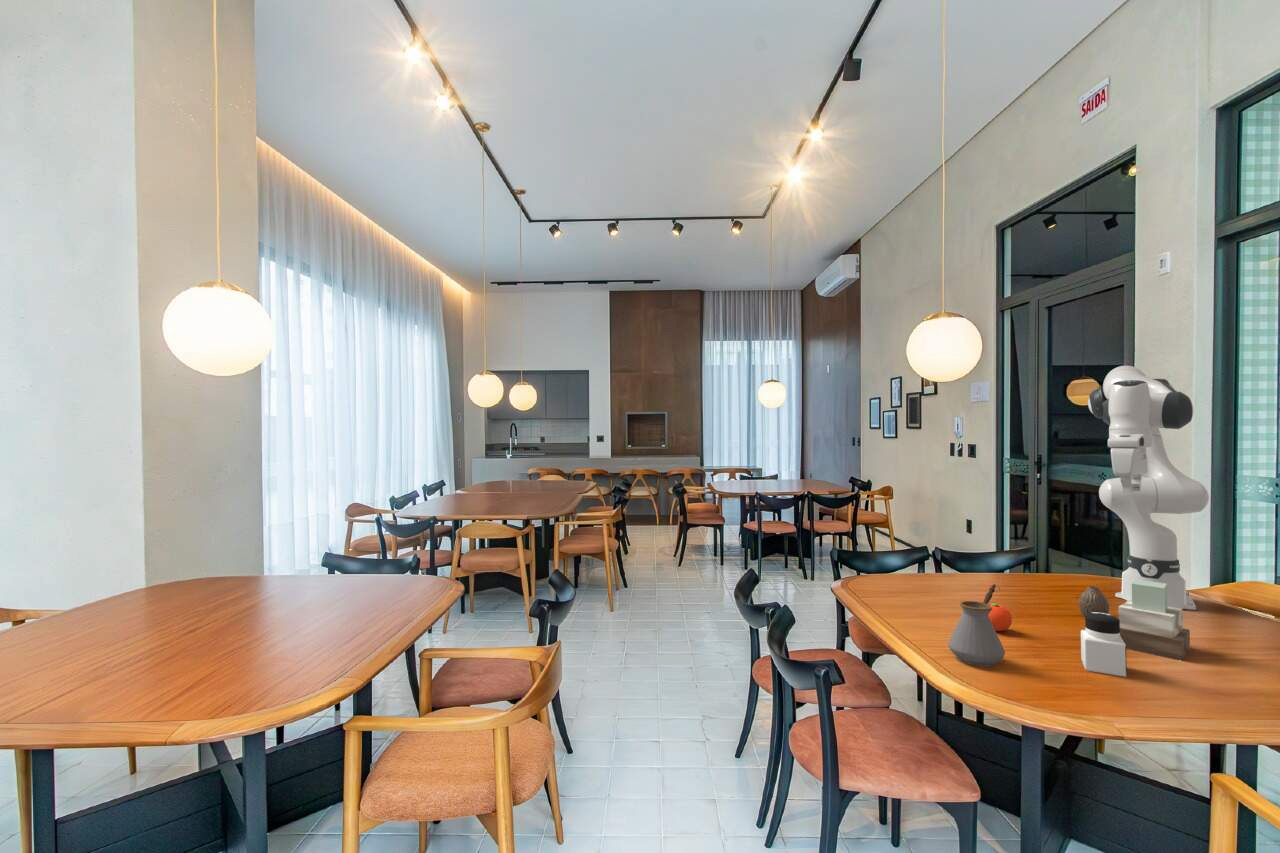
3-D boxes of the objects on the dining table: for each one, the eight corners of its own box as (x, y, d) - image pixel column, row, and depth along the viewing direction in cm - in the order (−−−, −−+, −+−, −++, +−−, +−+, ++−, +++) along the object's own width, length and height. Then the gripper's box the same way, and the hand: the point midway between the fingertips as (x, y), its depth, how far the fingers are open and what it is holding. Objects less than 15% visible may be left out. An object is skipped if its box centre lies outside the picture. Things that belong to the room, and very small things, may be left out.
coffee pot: (996, 674, 124) (995, 605, 125) (940, 659, 133) (939, 595, 133) (1023, 649, 139) (1022, 587, 139) (971, 637, 147) (970, 579, 148)
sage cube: (1135, 603, 144) (1134, 579, 144) (1167, 608, 140) (1166, 583, 140) (1132, 608, 140) (1131, 583, 140) (1165, 613, 136) (1164, 588, 136)
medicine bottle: (1127, 677, 122) (1125, 621, 123) (1085, 670, 126) (1084, 616, 126) (1120, 666, 128) (1119, 613, 129) (1081, 660, 132) (1080, 608, 132)
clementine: (974, 625, 157) (974, 599, 157) (1000, 625, 157) (1000, 599, 157) (990, 635, 149) (990, 607, 149) (1018, 635, 149) (1017, 608, 149)
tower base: (1126, 637, 148) (1126, 617, 148) (1190, 650, 139) (1189, 629, 139) (1115, 647, 141) (1114, 627, 141) (1181, 662, 131) (1180, 640, 131)
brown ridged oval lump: (1115, 622, 159) (1114, 590, 159) (1087, 620, 160) (1086, 589, 160) (1100, 614, 166) (1099, 584, 166) (1073, 613, 167) (1073, 583, 167)
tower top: (1130, 619, 147) (1130, 599, 147) (1182, 629, 139) (1182, 609, 139) (1118, 626, 141) (1118, 606, 141) (1172, 638, 133) (1172, 616, 133)
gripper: (1124, 440, 161) (1125, 488, 161) (1105, 440, 149) (1107, 493, 148) (1154, 440, 156) (1155, 490, 156) (1137, 440, 144) (1138, 495, 143)
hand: (1131, 491), depth 152 cm, fingers open, 8 cm apart
